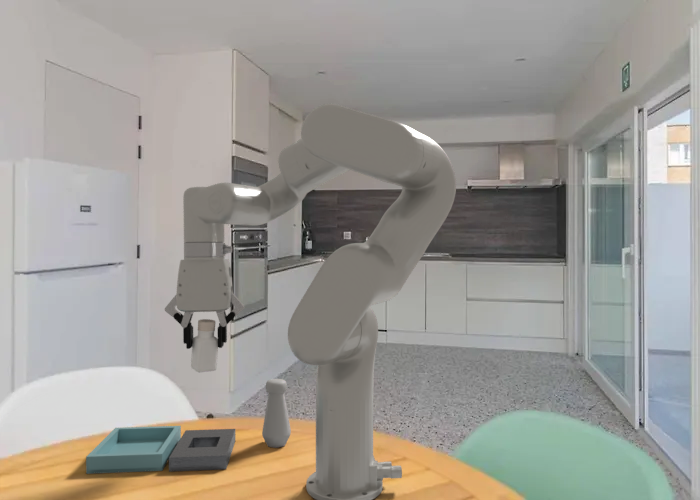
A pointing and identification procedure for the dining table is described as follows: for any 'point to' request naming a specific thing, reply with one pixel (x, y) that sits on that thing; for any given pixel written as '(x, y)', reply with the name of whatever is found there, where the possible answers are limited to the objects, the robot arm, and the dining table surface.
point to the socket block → (203, 450)
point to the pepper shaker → (205, 347)
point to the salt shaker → (276, 415)
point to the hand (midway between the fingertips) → (205, 346)
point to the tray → (134, 450)
